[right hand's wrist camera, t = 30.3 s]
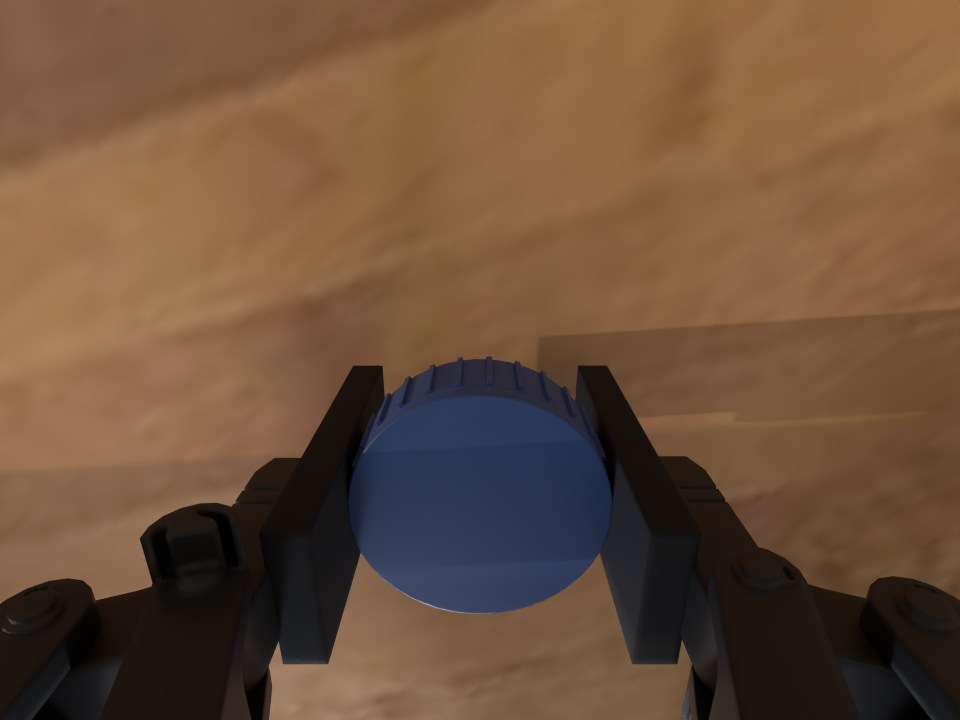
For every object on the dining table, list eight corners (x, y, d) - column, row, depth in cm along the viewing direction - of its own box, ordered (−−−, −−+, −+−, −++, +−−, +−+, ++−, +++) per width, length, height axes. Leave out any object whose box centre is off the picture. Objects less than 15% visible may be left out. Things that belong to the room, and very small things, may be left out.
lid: (450, 305, 11) (446, 334, 9) (648, 442, 12) (675, 490, 10) (318, 486, 12) (293, 539, 11) (503, 591, 13) (507, 653, 12)
